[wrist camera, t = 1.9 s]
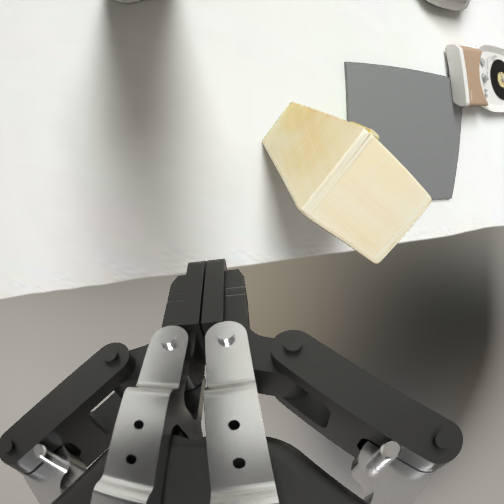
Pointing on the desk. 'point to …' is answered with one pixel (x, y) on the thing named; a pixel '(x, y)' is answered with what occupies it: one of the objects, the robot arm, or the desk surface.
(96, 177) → the desk surface
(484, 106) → the record player
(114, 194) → the desk surface
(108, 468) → the robot arm
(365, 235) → the toy refrigerator
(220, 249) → the desk surface
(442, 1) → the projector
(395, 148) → the mat
